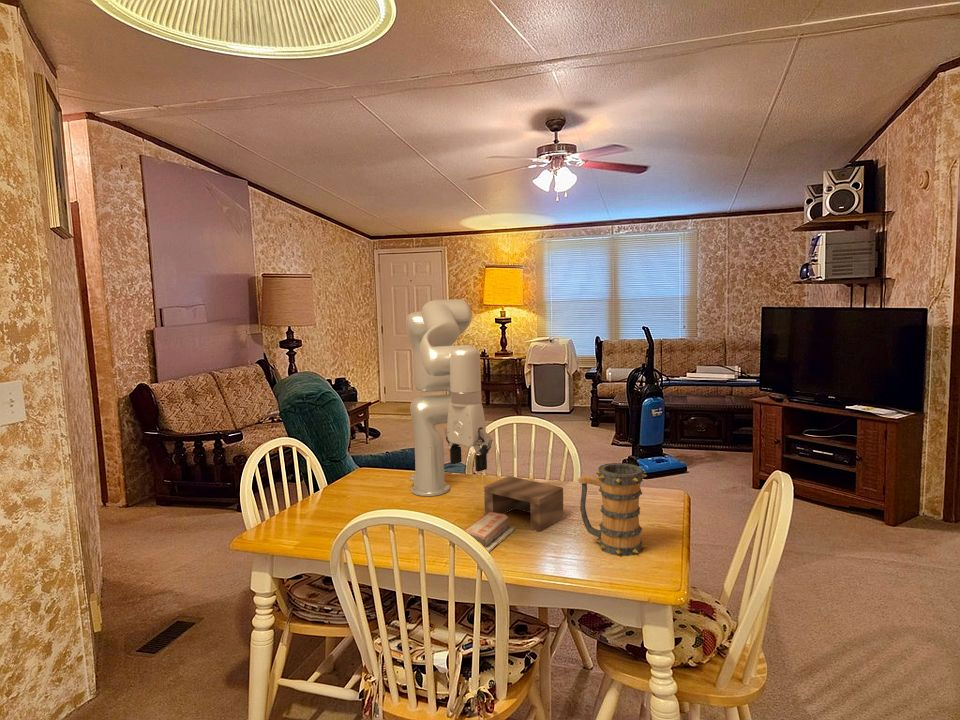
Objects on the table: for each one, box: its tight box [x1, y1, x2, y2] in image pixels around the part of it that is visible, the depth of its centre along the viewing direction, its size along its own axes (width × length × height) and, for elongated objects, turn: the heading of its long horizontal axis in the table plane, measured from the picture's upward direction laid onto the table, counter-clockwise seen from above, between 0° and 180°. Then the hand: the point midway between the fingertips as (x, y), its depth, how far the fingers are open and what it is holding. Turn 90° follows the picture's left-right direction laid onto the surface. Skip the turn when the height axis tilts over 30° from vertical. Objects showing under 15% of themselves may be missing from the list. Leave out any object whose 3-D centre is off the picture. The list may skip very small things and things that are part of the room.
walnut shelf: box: [483, 475, 564, 532], centre depth 167 cm, size 19×12×9 cm, turn 51°
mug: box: [576, 462, 648, 557], centre depth 146 cm, size 13×17×20 cm
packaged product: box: [456, 512, 517, 553], centre depth 154 cm, size 18×5×10 cm
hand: (468, 466), depth 145 cm, fingers open, 9 cm apart
